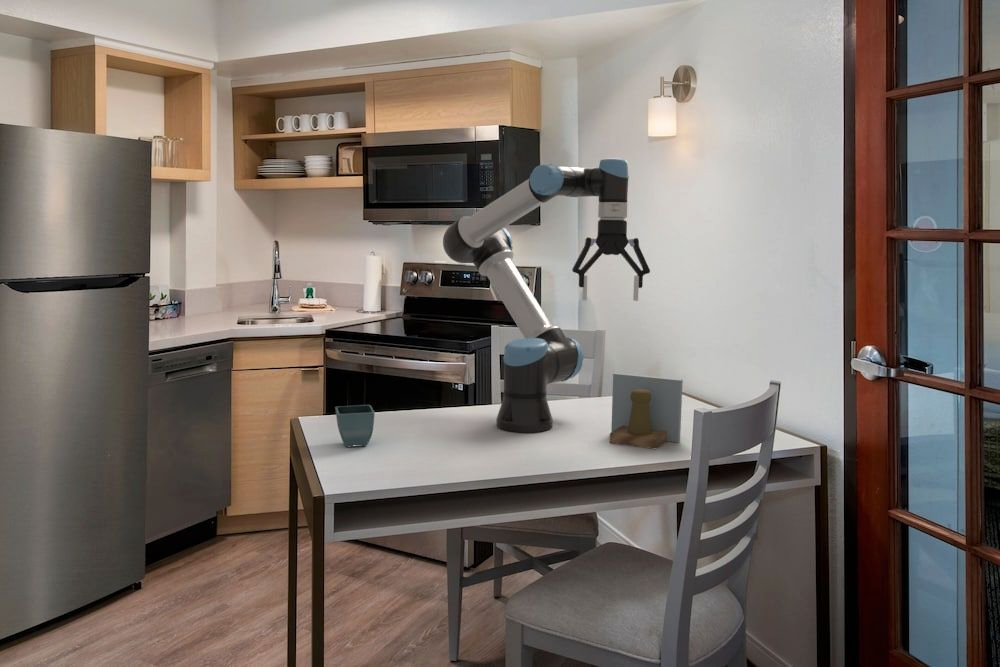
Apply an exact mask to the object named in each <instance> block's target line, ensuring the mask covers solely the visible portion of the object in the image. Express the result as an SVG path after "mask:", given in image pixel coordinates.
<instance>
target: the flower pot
mask: <svg viewBox="0 0 1000 667" xmlns="http://www.w3.org/2000/svg"><path fill="white" fill-rule="evenodd" d="M334 408H335V409H334V410H335V416H336V417H335V418H336V424H337V429H338V432H339V436H340V437H341V440H342V443H343V444H344V446H345V447H346V446H353V445H368V444H369V443H370V441H371V439H372V436H373V432H374V423H375V422H374V421H375V413H376V412H375V410H374V409H373V407H372V405H370V404H359V405H345V406H343V405H342V406H335V407H334Z"/></svg>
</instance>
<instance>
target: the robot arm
mask: <svg viewBox="0 0 1000 667" xmlns="http://www.w3.org/2000/svg"><path fill="white" fill-rule="evenodd" d="M629 177H630V175H629V163H628V161H627V160H626V159H624V158H604V159H603V158H601V160H600V161H599V165H598V167H575V166H574V167H573V166H566V165H565V166H564V165H555V164H552V163H551V164H540V165H537V166H536V167H535V168H534V169H533V170H532V172H531V173H530V176H529V178H528V179H527V180H524V181H523V182H522V183H520V184H519V185H517V186H515V187H514V188H513V189H510V191H507V192H506V193H505V194H503V195H502V196H500V197H498V198H497V199H495V200H493V201H492V202H490V203H489V204H488V205H486V206H484V207H482V208H481V209H479V210H477V211H476V212H475V213H474V214H472V215H470V216H468V215H463V216H462V217H460V218H459V219H458V220H456V221H454V222H453V223H452V224H450V226H448V228H447V229H446V230H445V231H444V234H443V236H442V237H443V238H442V247H443V250H444V252H445V254H446V255H447V256H448V258H450V259H451V260H452V261H454V262H456V263H459V264H473V265H474V267H475V268H476V270H477V272H478V274H479V275H480V276H485V277H487V279H488V280H489V283H491V285H492V286H493V288H494V290H495V291H496V294H497V295H498V297H499V298H500V300H501V301H502V303H503V304H504V306H505V308H506V310H507V311H508V314H510V316H511V318H512V319H513V321H514V322H515V324H516V326H517V328H518V329H519V331H520V333H521V335H522V336H523V338H518V339H515V340H512V341H510V342H507V343H506V344H505V346H504V350H503V395H502V396H503V398H502V401H501V404H500V406H499V407H500V408H499V410H498V412H497V416H496V427H497V428H499V429H500V430H503V431H508V432H515V433H539V432H545V431H548V430H551V429H553V415H552V413H551V410H550V407H549V403H548V400H547V391H548V389H547V387H548V385H549V384H553V383H554V384H555V383H557V382H565V381H568V380H569V379H572V378H574V377H576V376H577V375H578V374H579V373H580V371H581V370H582V367H583V361H584V353H583V352H584V351H583V348H582V346H581V345H580V343H579V342H578V341H577V340H575V339H573V338H570V337H566V335H565V333H564V332H563V331H562V329H561V327H559V326H555V325H553V324H552V323H551V321H550V319H549V318H548V316H547V315H546V313H545V311H544V310H543V308H542V307H541V305H540V303H539V302H538V301H537V298H536V297H535V295H534V294H533V292H532V291H531V289H530V288H529V286H528V284H527V283H526V281H525V279H524V278H523V275H522V274H521V273H520V271H519V270H518V268H517V266H516V264H514V263H515V262H513V258H514V252H513V245H512V244H513V239H512V237H511V234H510V232H509V231H508V230H507V229H506V227H508V226H509V225H511V224H513V223H514V222H516V221H518V220H519V219H520V218H522V217H524V216H525V215H527V214H529V213H530V212H532V211H534V210H535V209H537V208H538V207H540V206H542V205H543V204H545V203H547V202H548V201H551V200H552V199H554V198H555V197H557V196H562V197H563V196H565V197H570V198H581V197H598V209H597V210H598V211H597V212H598V213H597V217H598V218H599V219H598V221H597V237H596V238H591V237H588V236H587V237H586V238H585V240H584V246H583V248H582V250H581V251H580V254H579V255H578V258H577V259H576V261H575V263H574V264H573V265H574V266H573V267H572V272H573V273H575V274H578V286H579V288H582V301H587V299H588V297H587V295H588V275H587V274H586V273H587V272H588V270H589V269H590V268H591V267H592V265H594V264H595V263H596V262H597V260H598V259H599V258H600V257H601V256H602V255H605V256H610V255H613V256H618V255H621V256H622V257H623V259H625V261H626V262H627V263H628V265H629V266H630V267H631V268H632V270H633V271H634V272H635V273H636V275H633V294H632V295H633V296H632V297H633V298H632V299H633V300H632V301H635V302H638V301H639V289H642V288H643V285H644V284H643V281H644V280H643V279H644V278H643V276H644V275H647V274H650V273H651V270H650V268H649V265H648V263H647V261H646V259H645V256H644V254H643V252H642V250H641V248H640V243H639V242H640V241H639V238H637V237H633V238H628V237H627V235H628V234H627V230H628V229H627V227H628V221H627V220H626V219H627V218H628V194H629V193H628V192H629V191H628V190H629ZM594 244H596V245H597V247H598V249H597V250H596V251H595V252H594V254H593V255H592V256H591V257H590V258H589V260H587V262H586V263H585V264H583V261H584V259H585V258H586V256H587V254H588V253H589V250H590V248H591V247H593V246H594ZM628 244H629V245H630V247H633V248H632V249H633V251H634V253H635V255H636V257H637V260H638V262H639V264H640V267H641V268H640V267H639V266H638V264H637V263H636V262H635V260H634V259H633V258H632V257H631V255H630V254H629V253H628V252H627V250H626V249H625V248H626V246H628ZM582 265H583V266H582ZM581 266H582V268H581Z"/></svg>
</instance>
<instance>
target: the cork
mask: <svg viewBox="0 0 1000 667" xmlns="http://www.w3.org/2000/svg"><path fill="white" fill-rule="evenodd" d="M631 401H632V408H631V414H630V420H629V426H628V433H630V434H633V435H650V434H651V422H650V411H649V402H650V401H651V393H650V391H648V390H645V389H636V390H633V391H632V392H631Z"/></svg>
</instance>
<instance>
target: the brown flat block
mask: <svg viewBox="0 0 1000 667" xmlns="http://www.w3.org/2000/svg"><path fill="white" fill-rule="evenodd" d="M610 442H612V443H611V444H616V443H619V444H618V445H623V444H627V445H626V446H630V445H634V446H633V447H637V446H641V447H640V448H644V447H650V448H649V449H651V448H657V447H658V448H659V447H661V446H662V445H663V444H665V443H667V442H668V441H667V431H659V430H651V434H650V435H633V434H630V433H628V426H621V427H619V428H618V429H616V430H614V431H613V432H610V433H609V443H610ZM664 442H665V443H664ZM661 444H662V445H661ZM660 445H661V446H660ZM658 448H657V449H658Z"/></svg>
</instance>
